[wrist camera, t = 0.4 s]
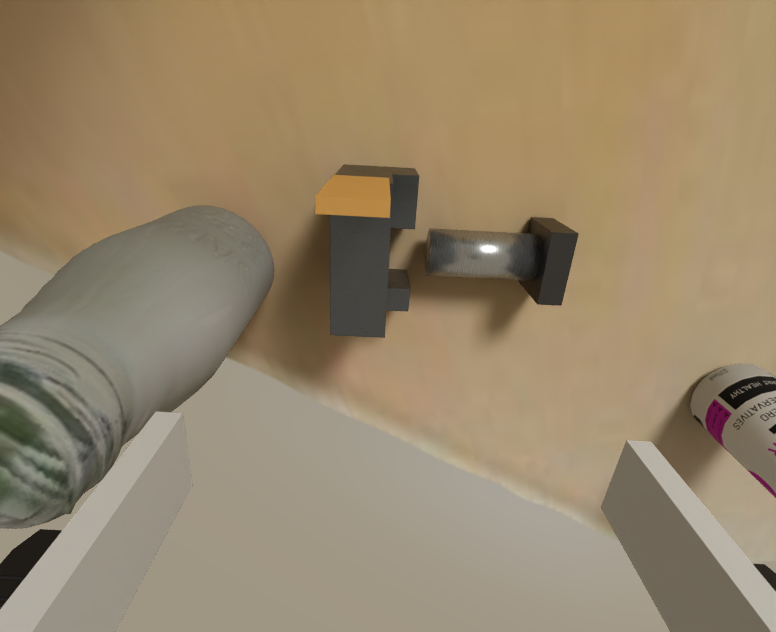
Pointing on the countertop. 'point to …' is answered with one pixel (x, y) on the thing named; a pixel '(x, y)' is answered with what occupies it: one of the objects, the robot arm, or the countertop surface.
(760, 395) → the supplement can
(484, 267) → the lynch pin
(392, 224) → the block
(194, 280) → the grey vase
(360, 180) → the plate
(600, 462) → the countertop surface
